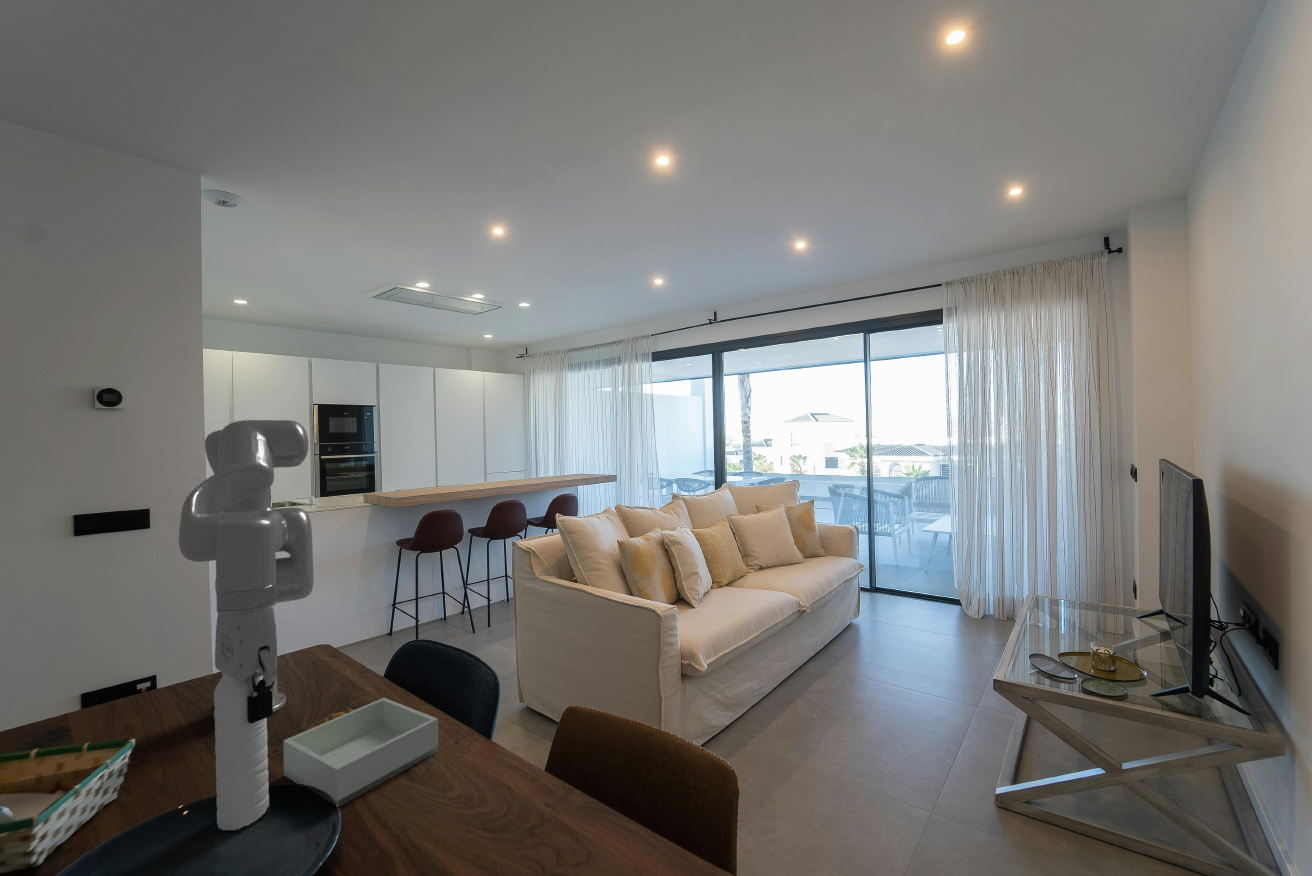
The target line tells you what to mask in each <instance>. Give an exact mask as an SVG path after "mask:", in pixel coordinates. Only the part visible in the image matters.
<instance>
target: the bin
mask: <svg viewBox="0 0 1312 876" xmlns="http://www.w3.org/2000/svg"><path fill="white" fill-rule="evenodd" d="M353 710H354V709H353ZM304 731H305V730H304ZM304 731H302V732H301V733H297V734H296V735H293V736H291V737H288V738H286V739H284V740H283V743H282V744H283V776H284V777H286V778H288V779H290V780H291V781H293V782H294V783H296V784H297V785H299V784H304V785H309V786H314V787H316V788H318V789H320V790H323V791H324V792H326V793H328V794H329V795H331V797H333V799H334V800H335V801H336V802H337V804H338V805H339V806H340V807H341V806H343V805H345V804H347V803H349V802H350V801H352V800H353V799H355V798H358V797H359V796H361V795H362V794H365V793H366V792H368V791H370V790H372V789H374V788H375V787H377V786H379V785H381V784H382V783H384V782H386V781H388V780H390V779H392V778H394V777H395V776H397V775H399V774H400V773H402V772H404V771H406V770H409V768H411V767H413V766H415V765H416V764H418V763H421V761H424V760H425V759H427V758H428V757H430V756H432V755H434V754H436V753H438V752H439V718H437V717H435V716H431V715H429V714H427V713H425V712H421V711H419V710H417V709H414V708H412V707H408V706H407V705H403V704H401V703H398V702H396V701H394V700H391V699H388V698H386V697H382V698H380V699H377V700H375V701H373V702H370V703H368V704H366V705H363V706H361V707H358V708H356V709H355V710H354V711H352V712H349V713H347V714H345V715H342V716H340V717H337V718H335V719H333V720H330V721H328V722H326V723H323V724H321V725H319V726H316V727H314V728H312V729H309V730H307V731H305V732H304ZM423 759H424V760H423ZM414 764H415V765H414ZM412 765H413V766H412ZM398 773H399V774H398ZM357 796H358V797H357Z"/></svg>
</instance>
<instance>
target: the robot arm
mask: <svg viewBox="0 0 1312 876" xmlns="http://www.w3.org/2000/svg"><path fill="white" fill-rule="evenodd" d="M204 451H205V454H206V458H207V459H206V460H207V461H208V464H209V466H210V468H211V470H212V472H213V475H211V476H209V477H208V478H206V479H205V480H203V481H202V482H201V483H200V484H199V485H197V486H195V488H194V489H192V491H191V492H190V493H189V494H188V495H187V497H186V498H185V500H184V502H183V505H182V507H181V508H182V509H181V512H180V519H179V520H180V522H179V530H178V547H179V551H180V553H181V555H182V556H183V557H184V558H185V559H186V560H189V561H191V562H196V563H201V562H202V563H204V562H212V561H215V583H214V586H215V588H214V589H215V594H216V613H217V617H216V618H217V619H216V626H215V627H216V628H215V641H214V643H215V647H214V666H215V668H216V670H217V671H219V672H221V673H222V674H221V676H222V677H223V675H224V674H225V673H227V674H228V675H229V676H231V677H234V678H236V679H238V680H242V681H243V680H246V679H247V682H248V686H249V691H250V696H248V697H247V715H248V722H249V723H254V722H257V721H259V720H262V719H265V718H269V717H271V716H273V714H274V713H275V712H277V711H279V710H280V709H282V707H284V705H286V701H287V697H286V695H285V693H283V692H280V691H278V676H279V674H278V673H279V672H278V638H277V624H276V618H275V611H274V606H276V605H277V604H279V603H285V602H286V603H287V602H290V601H297V600H301V599H305V598H307V597H309V595H311V594H312V591H313V589H314V582H315V581H314V580H315V579H314V557H313V556H314V555H313V551H314V550H313V549H314V548H313V532H312V531H313V529H312V522H311V519H310V515H309V513H308V512H307V511H306V510H305V509H303V508H301V507H282V508H280V507H279V508H273V506H272V499H271V495H272V494H271V493H272V490H271V489H272V488H271V487H272V486H273V484H274V480H275V471H274V469H275V468H276V469H277V468H293V467H299V466H301V464H302V463H303V462H304V461H305V459H306V458H307V455H308V451H309V437H308V432H307V431H306V429H305V427H304V426H303V425H302V424H301V423H300V422H298V421H295V420H290V419H289V420H288V419H286V420H285V419H281V420H279V419H277V420H276V419H269V420H268V419H245V420H238V421H233V422H230V423H229V424H227V425H226V426H224V427H223V428H222V429H219V430H215V431H212V432H210V433H209V434H208V435H207V436H206V438H205V441H204ZM221 510H222V512H219V511H221ZM281 552H285V553H287V554H289V556H285V557H276V553H281ZM255 670H258V671H259V673H256V674H253V673H254V671H255ZM261 676H263V677H262V678H263V679H262V680H260V681H259V682H258V684H257V685H256V683H255V678H258V677H261ZM222 677H221V678H222ZM213 720H214V721H215V710H214V712H213Z"/></svg>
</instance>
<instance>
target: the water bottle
mask: <svg viewBox="0 0 1312 876" xmlns="http://www.w3.org/2000/svg"><path fill="white" fill-rule="evenodd" d="M256 673H259V671H258V670H255V671H254V673H253V674H256ZM262 677H263V676H261V677H258V678H255V683H256V685H257V684H258V682H259V681H260V680H262V679H263V678H262ZM248 696H250V691H249V686H248V682H247V679H246V680H243V681H242V680H238V679H236V678H234V677H231V676H229V675H228V674H227V673H225V674H224V675H223V677H221V678H220V680H219V682H218V683H217V685H216V686H215V689H214V692H213V702H214V703H213V704H214V706H213V707H214V711H215V720H214V736H215V737H214V739H215V744H214V746H215V747H214V750H215V751H214V753H215V770H216V772H215V778H216V783H215V788H216V789H215V790H216V795H217V796H216V808H217V809H216V810H217V811H216V824H217V825H218V826H217V825H216V826H217V827H218V829H220V830H221V829H222V830H221V831H224V830H225V831H226V832H227V831H231V830H233V831H238V830H241V829H243V828H244V826H247V825H250V824H251V823H253V822H254V821H256V820H258V818H260V817H261V816H262V815H263V814H264V813H265V812H266V810H267V808H268V806H269V807H270V794H269V787H270V786H269V769H268V767H269V758H268V753H269V751H268V750H269V749H268V725H267V724H268V723H267V721H268V720H267V718H268V717H267V718H265V719H262V720H259V721H257V722H254V723H249V722H248V715H247V697H248ZM258 821H259V820H258ZM250 826H251V825H250ZM242 827H243V828H242ZM247 827H248V826H247ZM240 828H241V829H240ZM237 829H238V830H237Z"/></svg>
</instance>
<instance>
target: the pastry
mask: <svg viewBox="0 0 1312 876" xmlns="http://www.w3.org/2000/svg"><path fill="white" fill-rule="evenodd" d="M352 711H354V708H348V709H347V710H346V711H340V712H339V711H338V712H336V713H331V714H329V715H327V716H326V717H324V718H322V719H321V720H320V721H316V722H315V723H313V724H312V725H310V726H308V727H307V728H306V729H304V731H303V732H305V731H307V730H309V729H312V728H314V727H316V726H319V725H321V724H323V723H326V722H328V721H330V720H333V719H335V718H337V717H340V716H342V715H345V714H347V713H349V712H352Z"/></svg>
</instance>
